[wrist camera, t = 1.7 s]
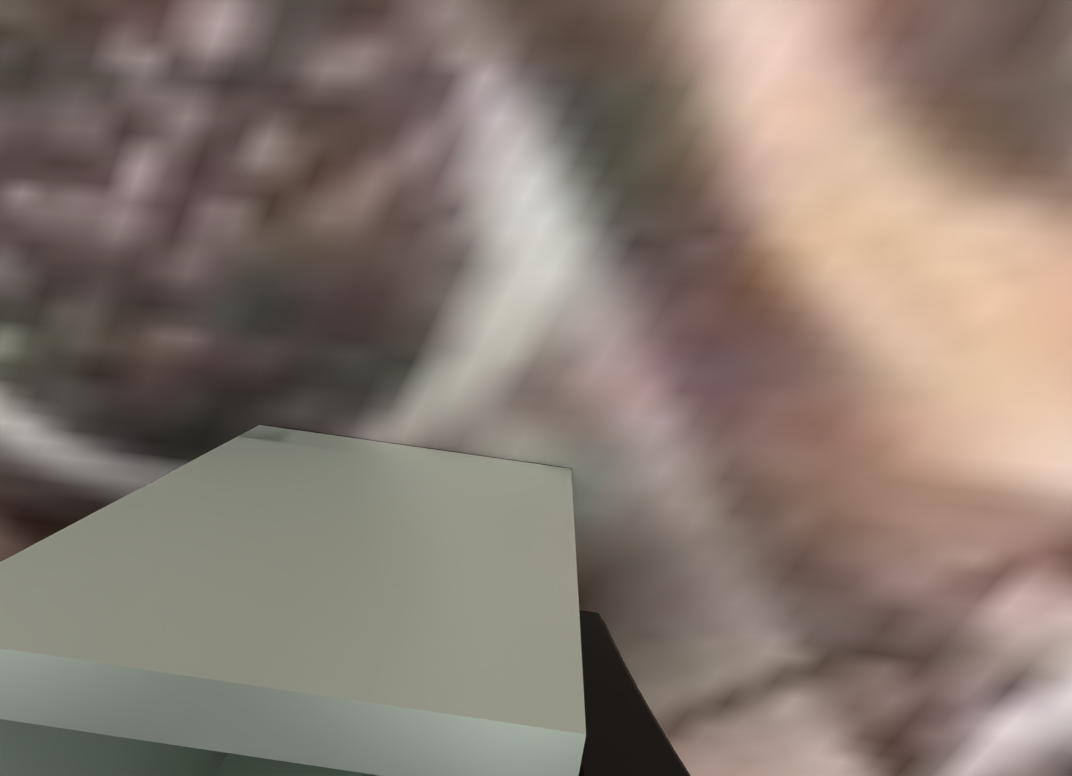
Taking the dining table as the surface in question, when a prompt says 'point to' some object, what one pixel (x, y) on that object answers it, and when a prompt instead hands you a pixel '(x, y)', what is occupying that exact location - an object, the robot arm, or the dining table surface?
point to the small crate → (302, 620)
